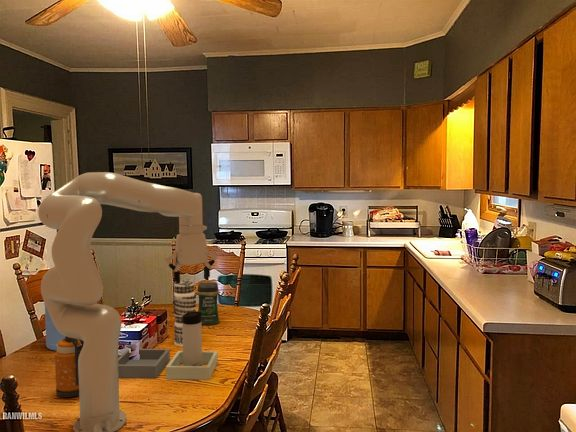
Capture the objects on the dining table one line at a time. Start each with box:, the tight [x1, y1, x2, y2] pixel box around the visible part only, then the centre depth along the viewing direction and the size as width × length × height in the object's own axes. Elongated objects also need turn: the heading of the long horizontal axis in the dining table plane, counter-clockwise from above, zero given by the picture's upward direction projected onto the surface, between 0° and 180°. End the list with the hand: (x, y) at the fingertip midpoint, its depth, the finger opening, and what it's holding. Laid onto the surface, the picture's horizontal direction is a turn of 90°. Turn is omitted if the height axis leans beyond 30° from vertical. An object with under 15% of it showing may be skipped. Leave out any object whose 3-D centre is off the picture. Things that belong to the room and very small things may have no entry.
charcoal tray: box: [118, 348, 171, 379], centre depth 151 cm, size 15×15×4 cm
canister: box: [54, 336, 84, 398], centre depth 132 cm, size 9×11×20 cm
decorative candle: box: [172, 278, 197, 347], centre depth 175 cm, size 9×9×25 cm
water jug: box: [43, 301, 65, 352], centre depth 174 cm, size 16×16×28 cm
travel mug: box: [182, 310, 203, 366], centre depth 149 cm, size 6×7×20 cm
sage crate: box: [165, 350, 219, 381], centre depth 149 cm, size 14×14×4 cm
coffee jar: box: [196, 281, 220, 326], centre depth 201 cm, size 10×8×19 cm
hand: (192, 281), depth 148 cm, fingers open, 9 cm apart
